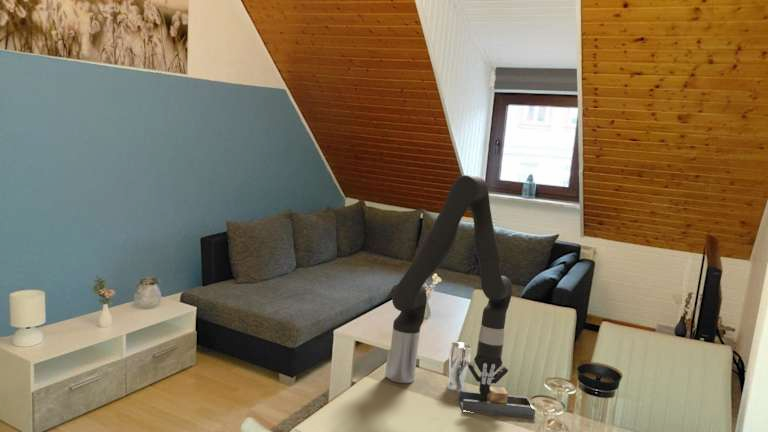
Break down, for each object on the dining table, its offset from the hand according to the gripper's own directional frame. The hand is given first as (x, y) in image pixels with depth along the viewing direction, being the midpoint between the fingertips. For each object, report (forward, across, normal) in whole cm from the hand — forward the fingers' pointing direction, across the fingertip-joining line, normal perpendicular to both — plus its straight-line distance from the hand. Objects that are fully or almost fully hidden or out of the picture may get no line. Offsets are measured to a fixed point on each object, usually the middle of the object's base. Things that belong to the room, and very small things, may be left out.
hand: (483, 394), depth 169 cm
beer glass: (+5, -6, +15) cm, 17 cm away
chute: (+4, +4, 0) cm, 6 cm away
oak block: (+3, +4, 0) cm, 5 cm away
